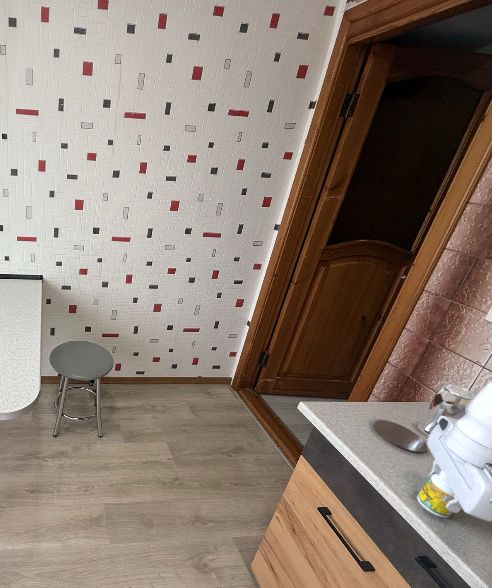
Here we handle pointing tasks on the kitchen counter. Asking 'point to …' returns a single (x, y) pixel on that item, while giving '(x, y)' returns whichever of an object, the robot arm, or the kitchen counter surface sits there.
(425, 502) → the supplement bottle
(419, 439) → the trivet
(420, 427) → the beer glass
